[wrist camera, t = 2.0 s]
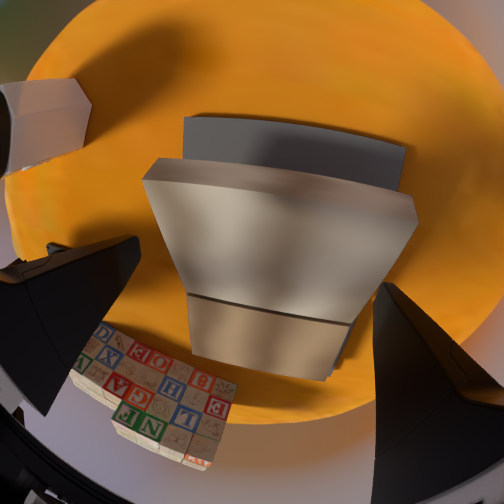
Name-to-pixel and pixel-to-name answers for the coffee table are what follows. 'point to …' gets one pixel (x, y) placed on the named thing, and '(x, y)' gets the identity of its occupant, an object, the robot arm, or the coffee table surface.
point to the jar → (40, 122)
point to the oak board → (264, 338)
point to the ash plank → (278, 235)
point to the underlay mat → (295, 153)
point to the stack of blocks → (155, 397)
